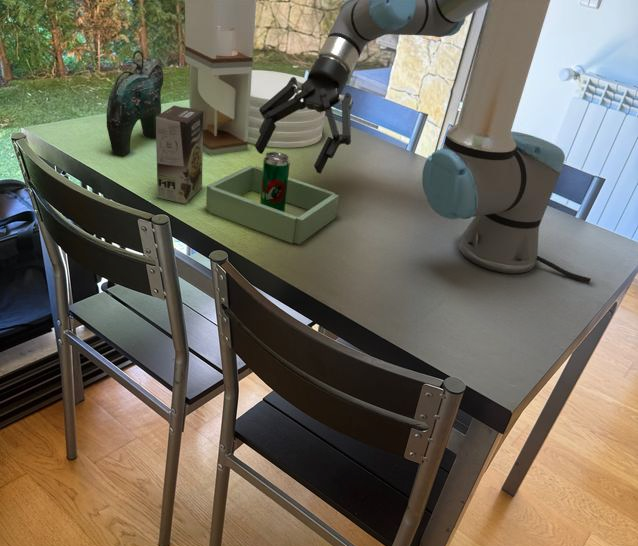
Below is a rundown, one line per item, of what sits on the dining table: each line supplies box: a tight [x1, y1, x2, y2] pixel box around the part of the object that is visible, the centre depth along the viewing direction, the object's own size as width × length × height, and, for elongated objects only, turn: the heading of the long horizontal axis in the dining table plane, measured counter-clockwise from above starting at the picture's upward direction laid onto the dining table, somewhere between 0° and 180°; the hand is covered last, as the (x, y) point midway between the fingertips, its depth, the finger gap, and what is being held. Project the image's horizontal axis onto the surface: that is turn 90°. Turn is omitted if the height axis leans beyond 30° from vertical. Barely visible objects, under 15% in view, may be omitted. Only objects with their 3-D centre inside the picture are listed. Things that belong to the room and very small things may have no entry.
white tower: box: [184, 0, 257, 156], centre depth 138 cm, size 11×11×35 cm
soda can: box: [259, 151, 291, 213], centre depth 118 cm, size 5×5×12 cm
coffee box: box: [155, 105, 204, 205], centre depth 119 cm, size 9×6×16 cm
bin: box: [205, 165, 340, 245], centre depth 120 cm, size 21×16×5 cm
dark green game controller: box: [105, 49, 164, 157], centre depth 136 cm, size 20×6×20 cm, turn 164°
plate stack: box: [247, 69, 326, 149], centre depth 160 cm, size 28×28×12 cm
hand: (287, 160), depth 119 cm, fingers open, 13 cm apart
